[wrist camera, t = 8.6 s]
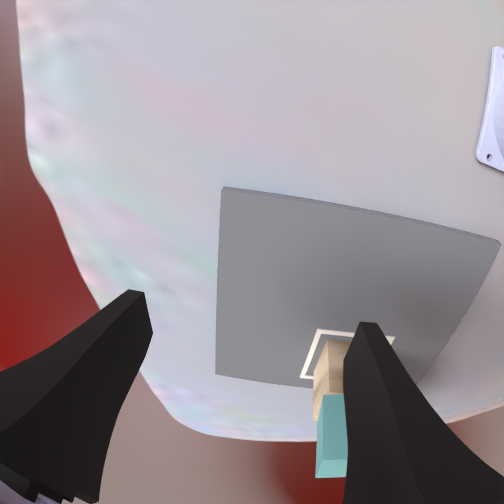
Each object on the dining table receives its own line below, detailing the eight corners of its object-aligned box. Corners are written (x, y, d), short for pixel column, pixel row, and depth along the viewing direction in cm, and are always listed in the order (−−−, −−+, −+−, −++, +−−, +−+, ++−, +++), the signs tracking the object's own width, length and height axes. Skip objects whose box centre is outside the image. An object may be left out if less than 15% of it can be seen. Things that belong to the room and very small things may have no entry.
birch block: (379, 344, 22) (388, 394, 18) (360, 375, 24) (365, 422, 20) (327, 339, 22) (329, 392, 18) (313, 371, 25) (312, 420, 21)
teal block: (385, 391, 18) (393, 454, 13) (371, 419, 20) (375, 474, 16) (322, 394, 18) (322, 460, 14) (317, 422, 21) (315, 477, 17)
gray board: (497, 240, 16) (501, 245, 16) (407, 387, 26) (408, 393, 25) (223, 186, 18) (221, 190, 17) (216, 369, 27) (215, 374, 27)
